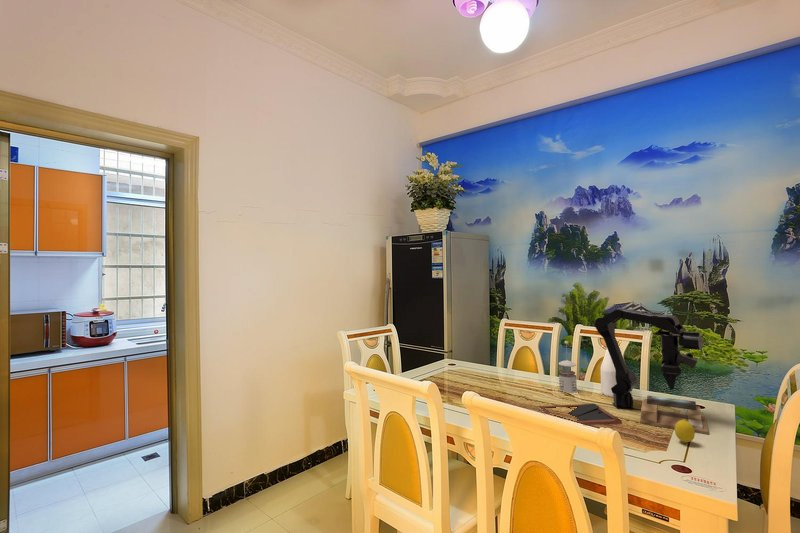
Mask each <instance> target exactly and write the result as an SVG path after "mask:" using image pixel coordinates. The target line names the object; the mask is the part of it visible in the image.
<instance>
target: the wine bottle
mask: <svg viewBox="0 0 800 533" xmlns="http://www.w3.org/2000/svg"><path fill="white" fill-rule="evenodd" d="M615 376H616V370H615V367H614V364H613V362H612V359H611V357H610V354H609V351H608V349H607V348H606V350H605V354H604V357H603V360H602V362H601V364H600V391H601V394H602V395H604V396H606V397H611V398H614V397H613V393H612V390H611V388H612V387H613V386H615V385H616V384H617V383H616V378H615Z"/></svg>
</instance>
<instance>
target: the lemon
mask: <svg viewBox="0 0 800 533" xmlns="http://www.w3.org/2000/svg"><path fill="white" fill-rule="evenodd" d="M674 433H675V436H676V437H677V439H678V440H680V442H681V441H682V443H683V444H687V443H689V442H692V441H693V440H694V439H695V434H696V433H695V432H694V428H693V426H692V425H691V423H689V422H688V421H686V420H684V419H683V420H680V421H678V422H677V423H676V425H675V429H674Z"/></svg>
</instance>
